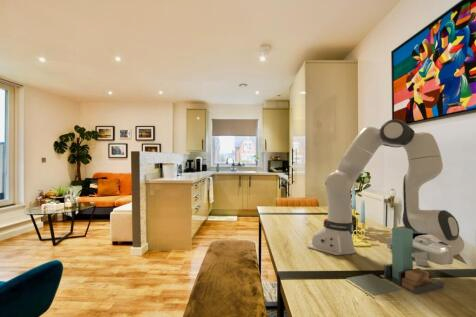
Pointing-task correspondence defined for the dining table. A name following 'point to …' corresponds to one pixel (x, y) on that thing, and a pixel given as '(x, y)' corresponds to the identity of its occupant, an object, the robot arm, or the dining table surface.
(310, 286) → the dining table surface
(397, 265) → the teal rectangular block
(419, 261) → the spoon rest
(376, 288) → the rubber mat
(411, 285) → the lower walnut offcut
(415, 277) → the upper walnut offcut
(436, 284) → the rack
